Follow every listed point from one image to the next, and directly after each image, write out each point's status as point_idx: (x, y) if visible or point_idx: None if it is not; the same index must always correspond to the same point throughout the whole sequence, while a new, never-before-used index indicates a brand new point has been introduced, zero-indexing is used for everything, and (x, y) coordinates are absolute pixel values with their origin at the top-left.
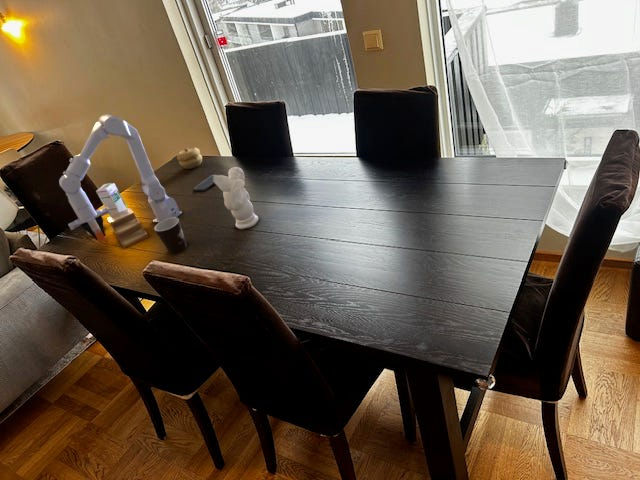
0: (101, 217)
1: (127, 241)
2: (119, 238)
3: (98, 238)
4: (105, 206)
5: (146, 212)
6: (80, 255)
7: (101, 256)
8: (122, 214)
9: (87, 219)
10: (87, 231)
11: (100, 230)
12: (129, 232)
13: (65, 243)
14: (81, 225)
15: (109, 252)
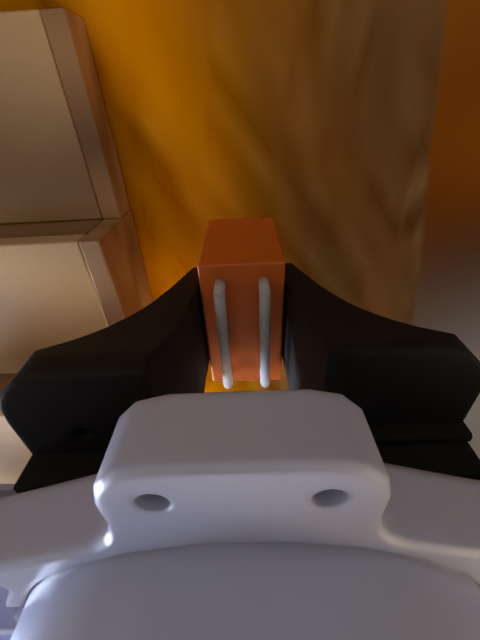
0: (40, 453)
1: (8, 57)
2: (111, 221)
3: (267, 236)
4: None
5: None
6: (416, 290)
7: (312, 86)
8: (23, 454)
9: (341, 543)
10: (377, 315)
11: (207, 315)
12: (7, 230)
13: None
14: (467, 457)
15: (233, 98)
